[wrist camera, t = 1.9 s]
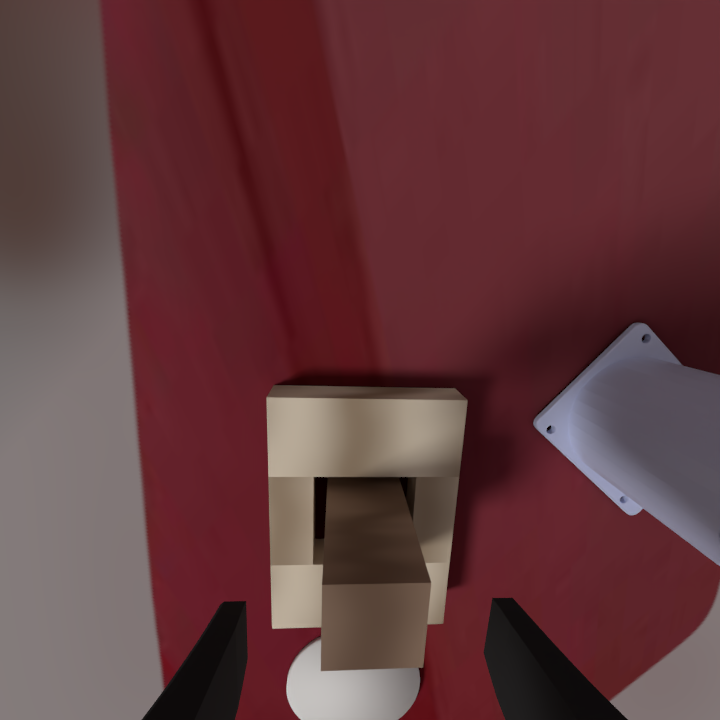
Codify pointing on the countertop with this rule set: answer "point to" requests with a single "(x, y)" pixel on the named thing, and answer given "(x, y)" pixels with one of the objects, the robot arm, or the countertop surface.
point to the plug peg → (372, 578)
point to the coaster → (348, 690)
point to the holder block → (358, 459)
